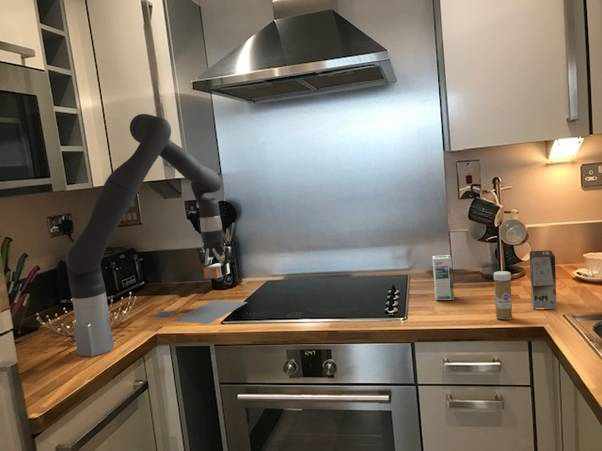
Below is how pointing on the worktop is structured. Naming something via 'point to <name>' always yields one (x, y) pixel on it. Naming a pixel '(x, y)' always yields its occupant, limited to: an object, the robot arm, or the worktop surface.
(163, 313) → the smartphone
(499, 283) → the sprinkles bottle
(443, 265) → the syrup box
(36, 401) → the worktop surface
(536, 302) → the coffee box
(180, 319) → the mat
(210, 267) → the card box
